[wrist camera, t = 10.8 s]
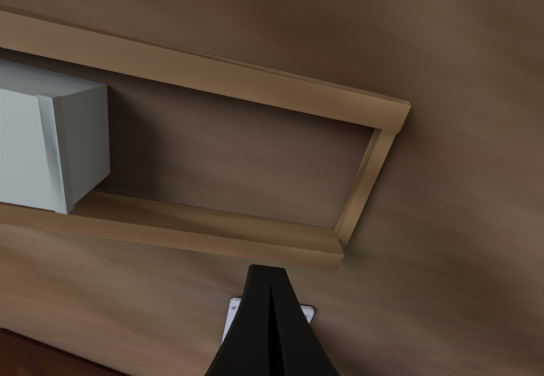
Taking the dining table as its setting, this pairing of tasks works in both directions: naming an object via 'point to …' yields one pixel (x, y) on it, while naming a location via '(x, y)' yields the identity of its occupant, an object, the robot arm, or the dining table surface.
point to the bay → (221, 80)
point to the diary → (42, 360)
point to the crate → (51, 137)
